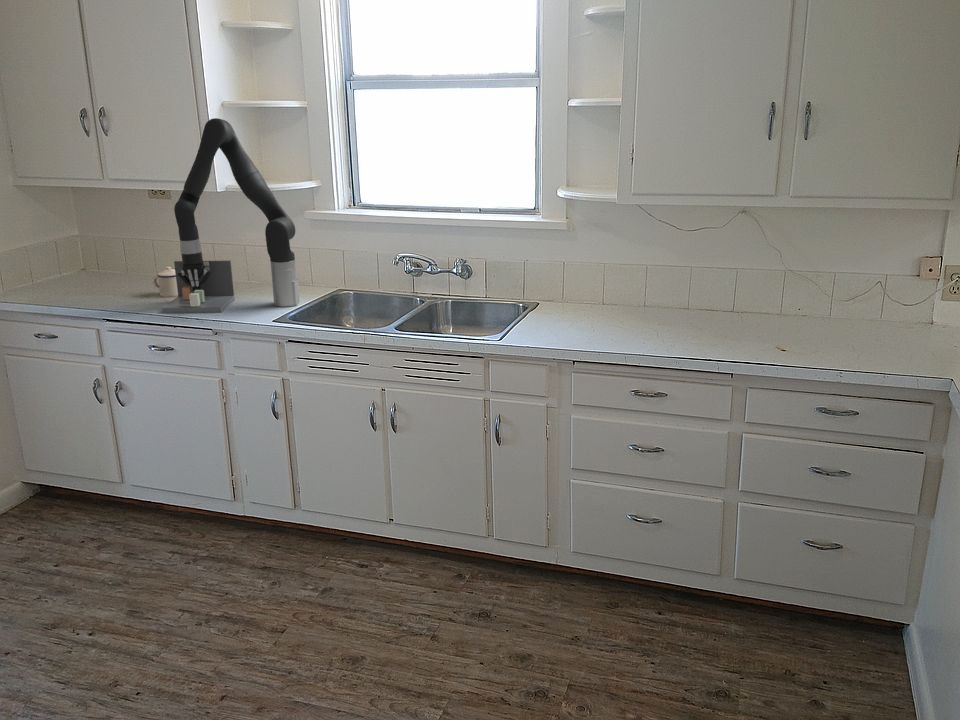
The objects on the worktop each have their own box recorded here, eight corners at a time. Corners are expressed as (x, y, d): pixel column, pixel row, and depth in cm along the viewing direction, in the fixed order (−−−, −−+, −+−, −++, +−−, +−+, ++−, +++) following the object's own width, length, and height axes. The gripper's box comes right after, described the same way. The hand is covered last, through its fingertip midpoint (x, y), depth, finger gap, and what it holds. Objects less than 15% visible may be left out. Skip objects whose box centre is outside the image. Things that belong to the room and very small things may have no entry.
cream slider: (200, 304, 330) (199, 293, 328) (198, 306, 327) (197, 294, 326) (192, 304, 330) (191, 293, 328) (190, 306, 327) (189, 294, 326)
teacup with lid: (187, 292, 358) (184, 265, 355) (174, 298, 350) (171, 269, 346) (162, 291, 361) (158, 263, 358) (148, 296, 353) (145, 268, 350)
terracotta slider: (192, 297, 340) (191, 286, 339) (190, 299, 338) (189, 288, 336) (185, 298, 340) (183, 286, 339) (183, 299, 338) (181, 288, 336)
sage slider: (204, 301, 335) (203, 289, 333) (202, 302, 332) (201, 291, 331) (197, 301, 335) (195, 289, 333) (195, 302, 332) (193, 291, 331)
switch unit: (234, 300, 346) (230, 260, 341) (221, 312, 328) (216, 270, 323) (179, 300, 346) (174, 260, 341) (163, 313, 328) (157, 271, 323)
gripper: (211, 248, 336) (217, 292, 342) (177, 250, 337) (183, 293, 342) (205, 252, 329) (211, 297, 335) (170, 253, 330) (177, 298, 335)
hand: (197, 295), depth 338 cm, fingers closed
